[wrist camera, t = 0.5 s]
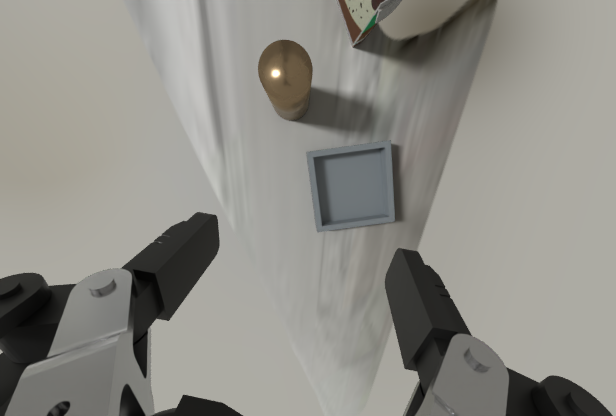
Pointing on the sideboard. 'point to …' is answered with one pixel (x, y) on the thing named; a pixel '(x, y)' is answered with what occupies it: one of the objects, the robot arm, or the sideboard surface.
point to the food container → (364, 16)
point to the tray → (352, 185)
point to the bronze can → (286, 78)
